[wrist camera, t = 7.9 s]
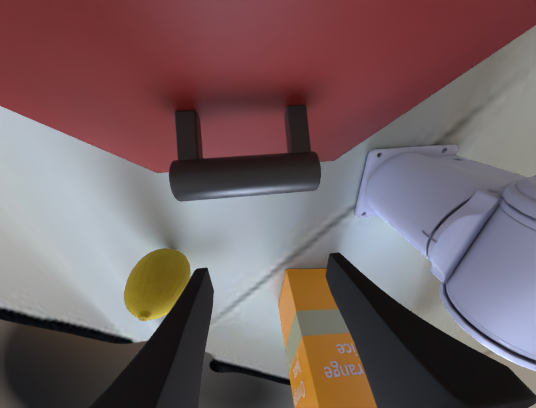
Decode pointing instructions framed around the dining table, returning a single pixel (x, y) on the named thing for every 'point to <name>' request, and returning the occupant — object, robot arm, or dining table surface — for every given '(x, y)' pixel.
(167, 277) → the lemon
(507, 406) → the robot arm
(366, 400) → the orange juice
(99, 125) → the lid
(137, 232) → the dining table surface
